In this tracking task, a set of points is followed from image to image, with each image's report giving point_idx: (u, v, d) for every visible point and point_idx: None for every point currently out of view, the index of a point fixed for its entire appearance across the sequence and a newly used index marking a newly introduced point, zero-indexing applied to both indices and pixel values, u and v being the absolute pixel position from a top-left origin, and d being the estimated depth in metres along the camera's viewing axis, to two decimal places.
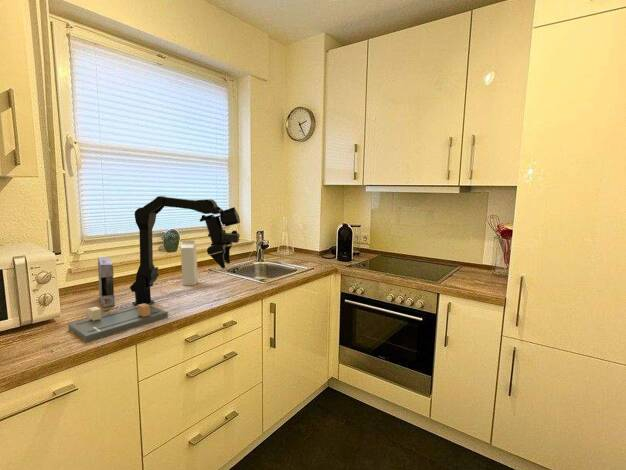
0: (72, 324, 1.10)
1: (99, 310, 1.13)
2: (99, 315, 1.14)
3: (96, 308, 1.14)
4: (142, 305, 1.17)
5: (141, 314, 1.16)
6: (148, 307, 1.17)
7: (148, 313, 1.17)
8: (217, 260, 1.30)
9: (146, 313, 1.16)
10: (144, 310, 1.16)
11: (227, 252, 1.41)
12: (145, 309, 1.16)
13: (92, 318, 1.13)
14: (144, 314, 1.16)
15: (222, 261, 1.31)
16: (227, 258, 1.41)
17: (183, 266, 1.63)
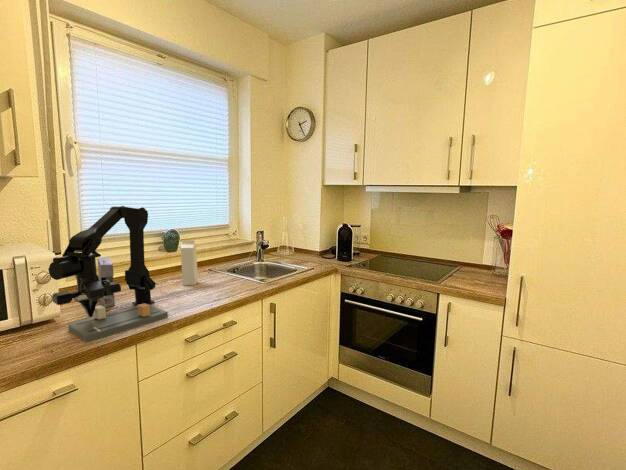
0: (72, 324, 1.10)
1: (104, 309, 1.15)
2: (104, 313, 1.15)
3: (101, 307, 1.15)
4: (142, 305, 1.17)
5: (141, 314, 1.16)
6: (148, 307, 1.17)
7: (148, 313, 1.17)
8: (83, 306, 1.12)
9: (146, 313, 1.16)
10: (144, 310, 1.16)
11: (91, 303, 1.13)
12: (145, 309, 1.16)
13: (97, 317, 1.14)
14: (144, 314, 1.16)
15: (86, 309, 1.12)
16: None
17: (183, 266, 1.63)
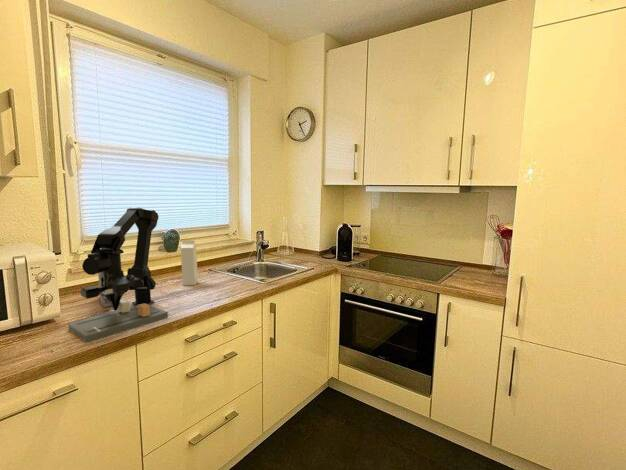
0: (72, 324, 1.10)
1: (128, 303, 1.21)
2: (128, 307, 1.21)
3: (125, 301, 1.21)
4: (142, 305, 1.17)
5: (141, 314, 1.16)
6: (148, 307, 1.17)
7: (148, 313, 1.17)
8: (108, 300, 1.19)
9: (146, 313, 1.16)
10: (144, 310, 1.16)
11: (116, 297, 1.19)
12: (145, 309, 1.16)
13: (121, 310, 1.20)
14: (144, 314, 1.16)
15: (111, 303, 1.18)
16: None
17: (183, 266, 1.63)
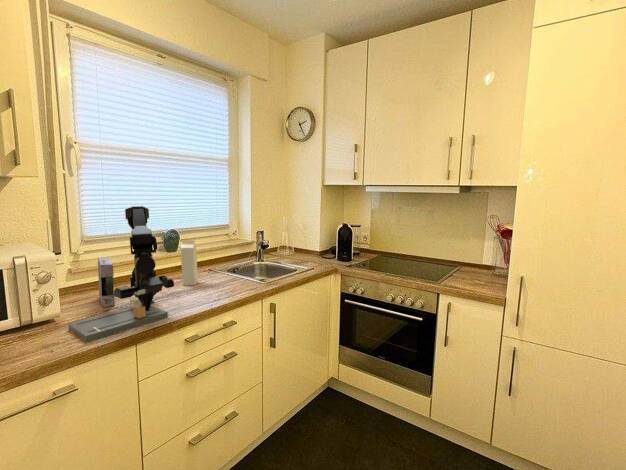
0: (72, 324, 1.10)
1: None
2: (140, 304, 1.24)
3: (137, 298, 1.25)
4: (137, 306, 1.16)
5: (136, 315, 1.15)
6: (143, 308, 1.15)
7: (143, 314, 1.16)
8: (140, 300, 1.17)
9: (141, 315, 1.15)
10: (139, 311, 1.14)
11: (148, 298, 1.18)
12: (140, 310, 1.15)
13: None
14: (139, 315, 1.14)
15: (143, 304, 1.17)
16: None
17: (183, 266, 1.63)
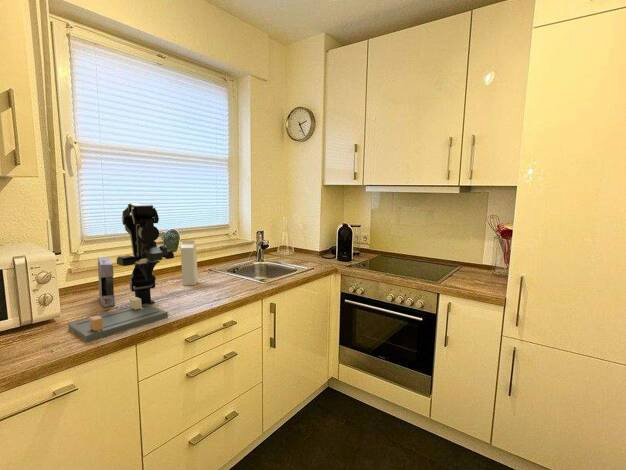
0: (72, 324, 1.10)
1: (140, 300, 1.24)
2: (140, 304, 1.24)
3: (137, 298, 1.25)
4: (94, 318, 1.05)
5: (92, 328, 1.05)
6: (100, 320, 1.05)
7: (101, 327, 1.05)
8: (142, 270, 1.23)
9: (98, 327, 1.05)
10: (96, 323, 1.04)
11: (149, 267, 1.23)
12: (97, 322, 1.04)
13: (134, 307, 1.23)
14: (96, 328, 1.04)
15: (145, 273, 1.22)
16: None
17: (183, 266, 1.63)
